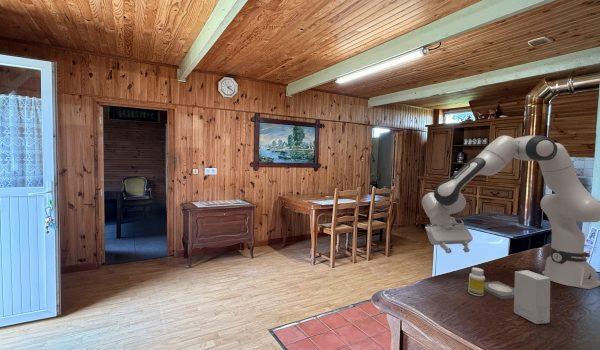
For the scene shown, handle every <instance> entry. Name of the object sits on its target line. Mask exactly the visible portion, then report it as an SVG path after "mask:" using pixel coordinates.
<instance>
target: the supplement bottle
mask: <svg viewBox="0 0 600 350" xmlns="http://www.w3.org/2000/svg"><path fill="white" fill-rule="evenodd" d="M484 271H485V270H484V269H482V268H479V267H471V272H470V273H469V275H468V276H469V277H468V286H467V287H468V289H467V293H469V294H470V295H472V296H476V297H484V295H485V291H484V286H485V282H486V277H485V275H484V273H485V272H484Z"/></svg>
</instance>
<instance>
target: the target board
mask: <svg viewBox="0 0 600 350" xmlns="http://www.w3.org/2000/svg"><path fill="white" fill-rule="evenodd" d="M514 288H515V287H512V286H511V285H507V284H505V283H504V282H500V281H498V280H497V281H487V282H486V281H485V286H484V292H487V293H489V294H491V295H493V296H494V297H497V298H498V299H501V300H505V299H506V300H507V299H514Z"/></svg>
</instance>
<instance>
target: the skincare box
mask: <svg viewBox="0 0 600 350" xmlns="http://www.w3.org/2000/svg"><path fill="white" fill-rule="evenodd" d="M550 279H551V278H549V277H546V276H544V274H541V273H536V272H534V271H531V270H528V269H526V270H517V271H514V287H513V288H514V298H513V299H514V300H513V313H514V314H516V315H518V316H520V317H522V318H524V319H526V320H528V321H530V322H531V323H533V324H535V325H539V324H540V325H541V324H549V323H550V321H551V319H550V318H551V280H550Z"/></svg>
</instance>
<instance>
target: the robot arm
mask: <svg viewBox="0 0 600 350" xmlns="http://www.w3.org/2000/svg"><path fill="white" fill-rule="evenodd" d="M511 160H516V161H517V160H518V161H525V162H526V161H527V162H530V161H531V162H533V161H535V162H537V163H538V165H539V168H540V171H541V175H542V177H543V180H544V183H545V185H546V187H547V188H548V189H549V190H551V191H552V192H554V193H548V194H546V195H544V196H543V197H542V198H541V200H540V205H539V206H540V208H541V210H542V211H543V212H544V214H545V215H546V217H547V219H548V221H549V224H550V227H551V246H550V247H549V250H548V251H549V256H548V257H546V261H545V266H544V270H542V273H541V275H543V276H546V277H549V278H551V279H550V282H554V283H556V284H560V285H565V286H568V287H576V288H580V289H585V290H591V289H594V288H597V287H599V286H600V280H599V279H597V271H596V269H595V268H594V267H593V266H592V265H591V264H590V263H589V262H588V261H587V258H588V259H589V258H591V253H590V252H586V251H585V242H586V235H585V233H584V232H583V231H582V230H581V229H580V228H579V227H578V225H577V222H579V223H598V222H600V200H599V199H597V198H596V197H595V196H594V195H592V194H591V193H590V192H589V191H588V190H587V189H586V188H585V186H584V185H583V184H582V182H581V180H580V179H579V177H578V174H577V172H576V169H575V166H574V164H573V161H572V159H571V156H570V153H569V152H568V151H567V149H566V148H565V145H563V144H561V143H559V142H554V140H553V139H551V138H550V137H549V136H545V135H526V136H525V135H524V136H517V137H512V136H510V135H500V136H498V137H496V138H495V139H494V140H493V141H492V142H490V143H488V145H486V147H485V148H484V149H483V150H481V152H480V153H479V154H478V155H477V156H476V157H474V158H472V159H471V160H469V161H467V162H466V164H464V165H463V166H461V168H460V169H458V170H457V171H456V172H455V173H454V174H453V175H452V176H451V177H449V178H448V179H446V180H444V181H442V182H440V183H439V184H438V185H436V187H435V188H434V191H432V192H428V193H426V194H424V196H422V200H421V205H422V208H423V210H424V212H425V214H426V216H427V217H428V218H429V221H430V224H426V225H425V226H424V229H425V231H426V234H427V237H428V239H429V242H430V244H432V245H433V246H440V248H441V249H442V250H444V251H445V253H446V254H451V253H452V249H451V248H450V247H448V246H447V245H461V246H463V249H462V251H463V252H464V253H469V252H470V251H471V249H470V247H469V243H471V242H472V241H473V239H474V238H473V236H472V233H471V231H470V230H469V228H468V227H467V226H466V225H464V224H465V223H464V221H463V220H462V219H459V218H456V217H453V216H451V215H455V214H457V213H460V212H461V211H463V210H464V209H465V208H466V206H467V199H466V197H465V196H464V194H463V193H462V190H463V188H464V187H465V186H466V185H467V184H468V183H469V182H470V181H471V180H473V179H474V177H476V176H478V175H483V176H486V177H487V176H488V177H491V176H495V175H496V174H497V173H499V172H500V171H501V170H503V169H505V167H506V166H507V164H508V163H509V162H510V161H511Z"/></svg>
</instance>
